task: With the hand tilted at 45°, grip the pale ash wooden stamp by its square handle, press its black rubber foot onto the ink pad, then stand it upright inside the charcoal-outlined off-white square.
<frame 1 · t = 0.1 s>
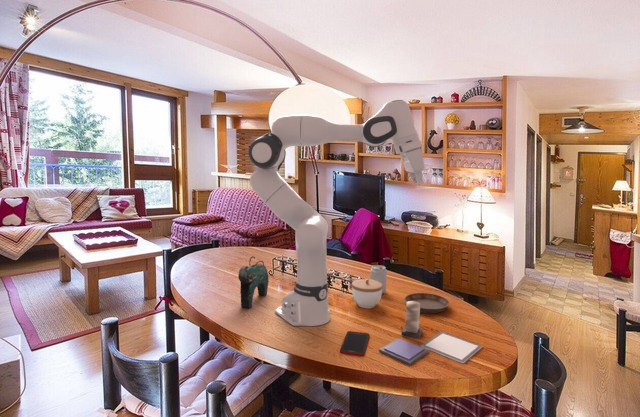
hand: (418, 183, 131), 52 cm above the table, tool tilted 20°, fingers open, 8 cm apart
green elephant figure: (253, 301, 157), on the table
lidded bowl: (366, 305, 155), on the table
cell phone: (355, 345, 122), on the table
stamp: (411, 333, 130), on the table
plant saucer: (426, 307, 154), on the table
can: (377, 292, 170), on the table
marked square: (451, 347, 120), on the table
ink pad: (403, 351, 117), on the table
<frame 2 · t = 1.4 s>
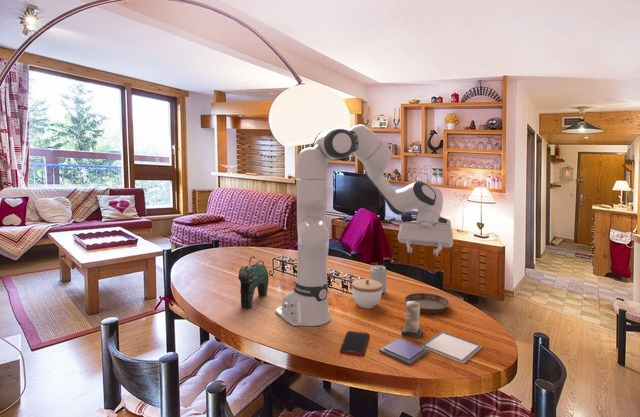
hand: (422, 253, 137), 26 cm above the table, tool tilted 45°, fingers open, 8 cm apart
nothing on the table moved.
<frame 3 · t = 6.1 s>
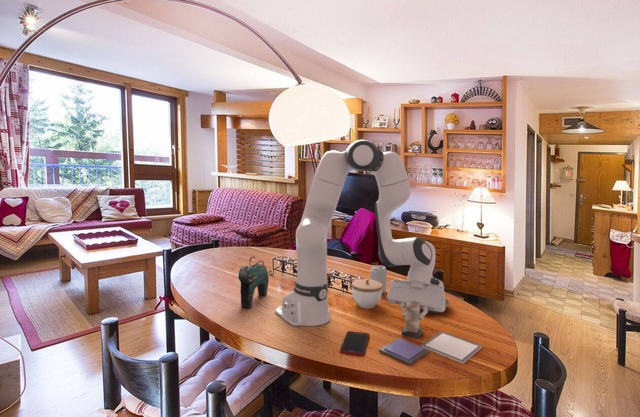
hand: (412, 318, 128), 6 cm above the table, tool tilted 45°, fingers closed on stamp, 4 cm apart
stamp: (411, 333, 130), on the table, touching gripper
everything else where it was.
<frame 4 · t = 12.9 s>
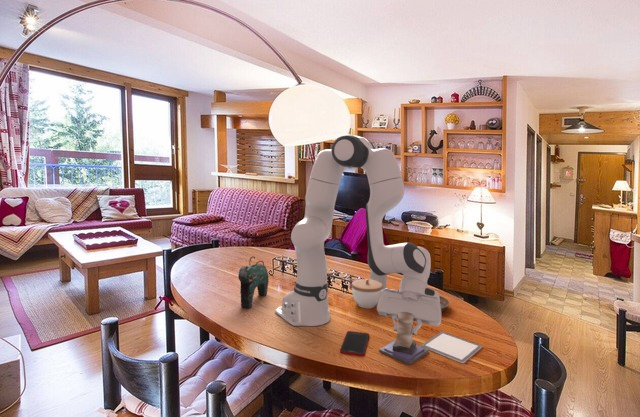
hand: (404, 332, 115), 7 cm above the table, tool tilted 45°, fingers closed on stamp, 4 cm apart
stamp: (404, 348, 117), point 1 cm above the table, touching gripper, ink pad
everything else where it was.
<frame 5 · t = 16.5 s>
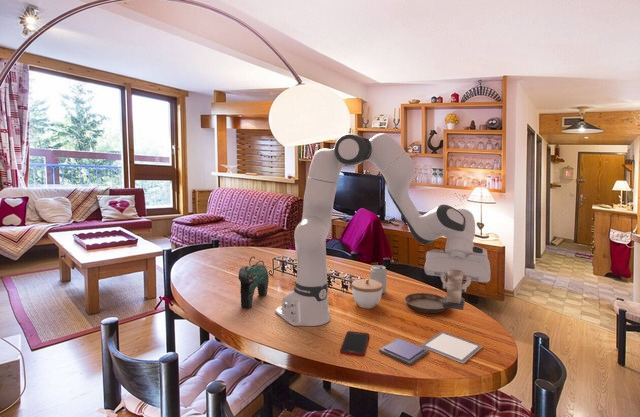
hand: (454, 289, 117), 20 cm above the table, tool tilted 45°, fingers closed on stamp, 4 cm apart
stamp: (453, 305, 118), point 14 cm above the table, touching gripper
everything else where it was.
when the fingers open (8 cm above the table, at t = 19.8 s): stamp drops 2 cm, resting on marked square.
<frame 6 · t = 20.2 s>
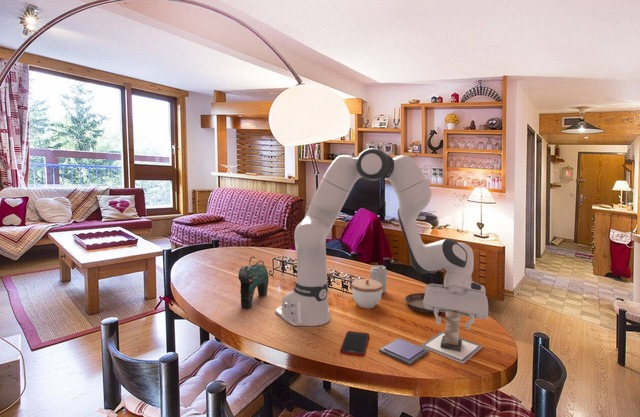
hand: (452, 325, 119), 8 cm above the table, tool tilted 45°, fingers open, 8 cm apart
stamp: (451, 345, 120), resting on marked square
everything else where it was.
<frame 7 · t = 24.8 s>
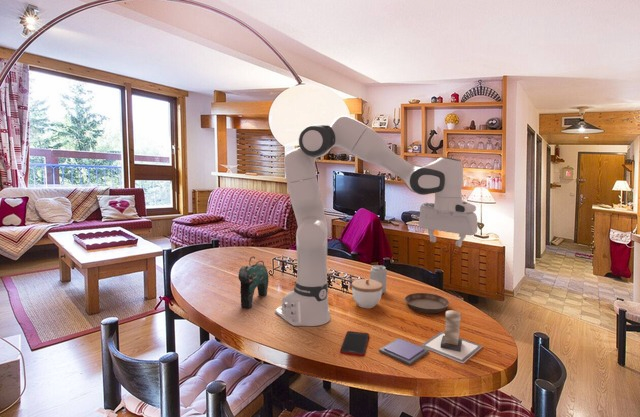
hand: (445, 244, 130), 31 cm above the table, tool pointing down, fingers open, 8 cm apart
nothing on the table moved.
at the end: stamp 0.1 cm off-centre on the marked square, point 0.5 cm above the marked square's base; stamp tilted 0°; the gripper is holding nothing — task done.
